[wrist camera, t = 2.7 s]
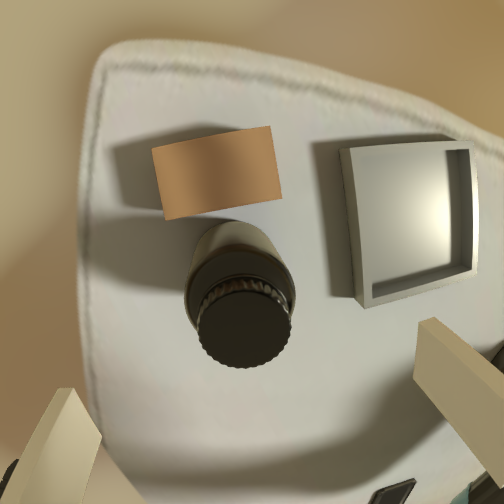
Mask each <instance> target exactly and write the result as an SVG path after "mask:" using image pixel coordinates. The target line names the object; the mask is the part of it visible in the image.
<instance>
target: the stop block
mask: <svg viewBox="0 0 504 504" xmlns="http://www.w3.org/2000/svg"><path fill="white" fill-rule="evenodd" d="M151 150H152V156H153V161H154V167H155V172H156V177H157V182H158V187H159V192H160V197H161V202H162V207H163V211H164V216H165V221H167V220H172V219H176V218H181V217H186V216H191V215H196V214H201V213H206V212H211V211H216V210H221V209H227V208H232V207H237V206H243V205H248V204H254V203H259V202H265V201H270V200H276V199H282V194H281V188H280V181H279V175H278V169H277V163H276V157H275V151H274V146H273V140H272V134H271V128H270V126H265V127H258V128H251V129H245V130H239V131H233V132H227V133H222V134H216V135H211V136H206V137H201V138H196V139H191V140H186V141H181V142H177V143H172V144H168V145H164V146H159V147H155V148H151Z"/></svg>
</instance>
